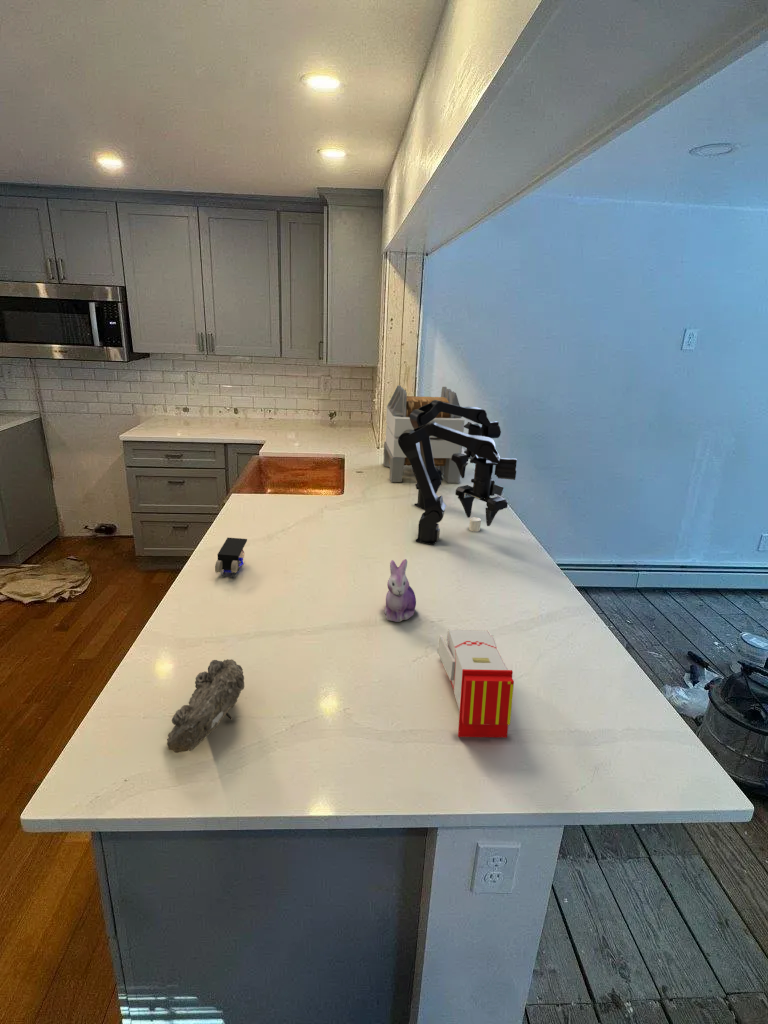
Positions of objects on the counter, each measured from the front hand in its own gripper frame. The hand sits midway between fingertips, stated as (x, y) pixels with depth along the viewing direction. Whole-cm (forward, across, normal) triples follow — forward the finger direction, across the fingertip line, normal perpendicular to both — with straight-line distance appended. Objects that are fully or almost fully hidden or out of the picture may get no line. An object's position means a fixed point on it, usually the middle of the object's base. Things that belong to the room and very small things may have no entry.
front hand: (478, 521), depth 189 cm
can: (+9, +11, -11) cm, 18 cm away
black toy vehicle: (+9, +25, +76) cm, 81 cm away
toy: (+9, -55, +57) cm, 80 cm away
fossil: (+9, -33, +104) cm, 110 cm away
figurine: (+9, -22, +50) cm, 55 cm away
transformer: (+9, +79, -41) cm, 90 cm away
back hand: (-2, +35, -31) cm, 47 cm away
